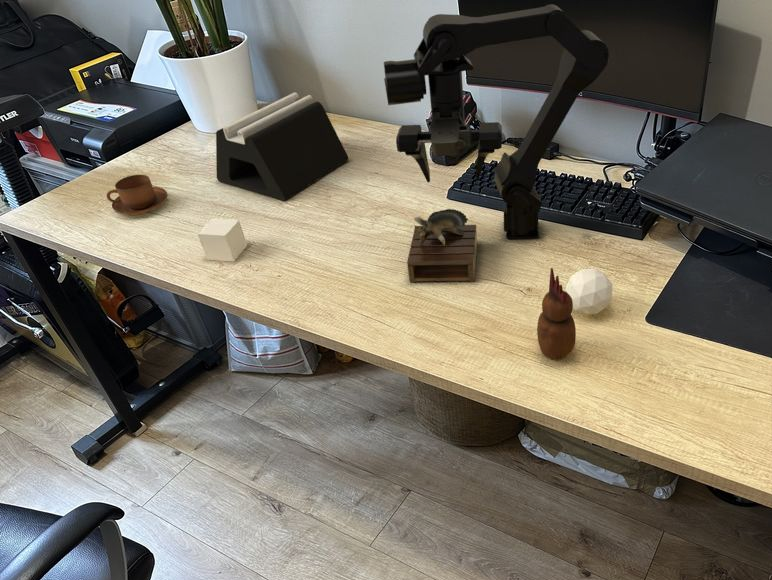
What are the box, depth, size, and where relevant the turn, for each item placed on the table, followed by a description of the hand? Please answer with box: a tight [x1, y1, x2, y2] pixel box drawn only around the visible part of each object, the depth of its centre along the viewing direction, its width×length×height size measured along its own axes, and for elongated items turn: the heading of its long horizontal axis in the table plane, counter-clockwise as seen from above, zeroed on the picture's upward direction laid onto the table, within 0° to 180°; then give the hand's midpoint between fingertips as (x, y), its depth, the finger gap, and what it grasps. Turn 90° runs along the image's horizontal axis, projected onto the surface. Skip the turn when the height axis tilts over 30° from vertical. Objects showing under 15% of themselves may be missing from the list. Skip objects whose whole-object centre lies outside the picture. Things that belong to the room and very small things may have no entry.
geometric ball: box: [565, 268, 613, 315], centre depth 110 cm, size 8×8×8 cm
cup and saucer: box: [106, 174, 168, 216], centre depth 148 cm, size 12×12×6 cm
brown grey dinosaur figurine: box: [413, 208, 469, 245], centre depth 122 cm, size 8×7×9 cm
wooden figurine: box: [536, 267, 577, 361], centre depth 100 cm, size 7×6×15 cm
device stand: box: [215, 92, 349, 202], centre depth 155 cm, size 22×22×15 cm
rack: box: [406, 224, 478, 284], centre depth 124 cm, size 12×13×4 cm
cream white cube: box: [197, 217, 248, 262], centre depth 131 cm, size 6×6×6 cm
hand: (453, 180), depth 123 cm, fingers open, 9 cm apart
